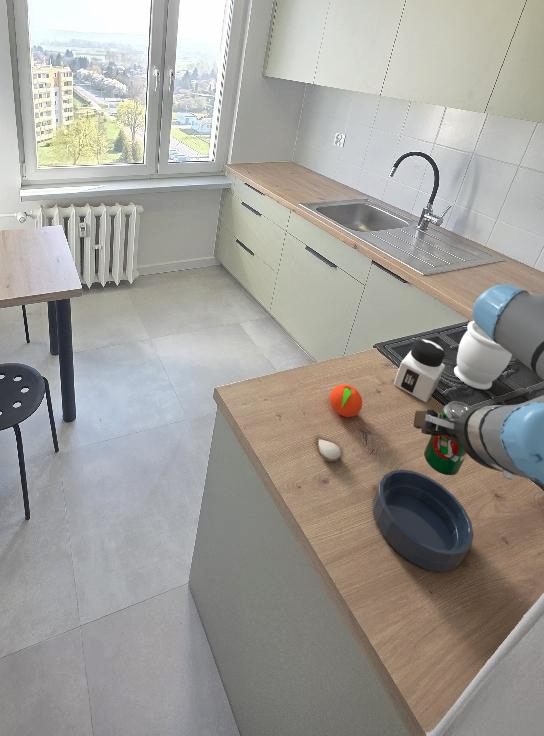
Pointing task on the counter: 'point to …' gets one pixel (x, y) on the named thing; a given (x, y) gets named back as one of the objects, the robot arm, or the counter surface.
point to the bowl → (422, 520)
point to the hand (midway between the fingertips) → (443, 432)
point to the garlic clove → (329, 450)
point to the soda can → (446, 445)
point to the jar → (480, 358)
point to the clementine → (346, 400)
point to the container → (421, 369)
